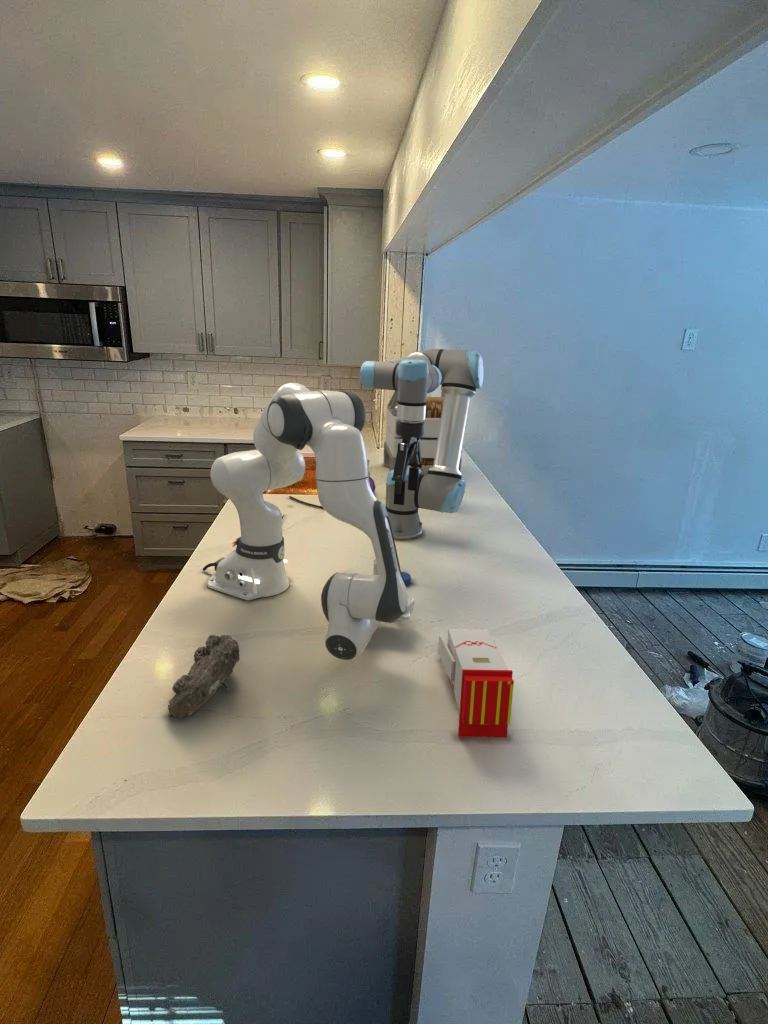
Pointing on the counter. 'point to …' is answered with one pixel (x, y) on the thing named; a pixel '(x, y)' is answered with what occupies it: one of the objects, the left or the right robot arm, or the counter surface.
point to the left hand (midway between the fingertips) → (381, 587)
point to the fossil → (204, 675)
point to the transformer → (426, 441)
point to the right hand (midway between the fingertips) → (406, 497)
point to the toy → (478, 682)
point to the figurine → (371, 482)
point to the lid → (406, 578)
